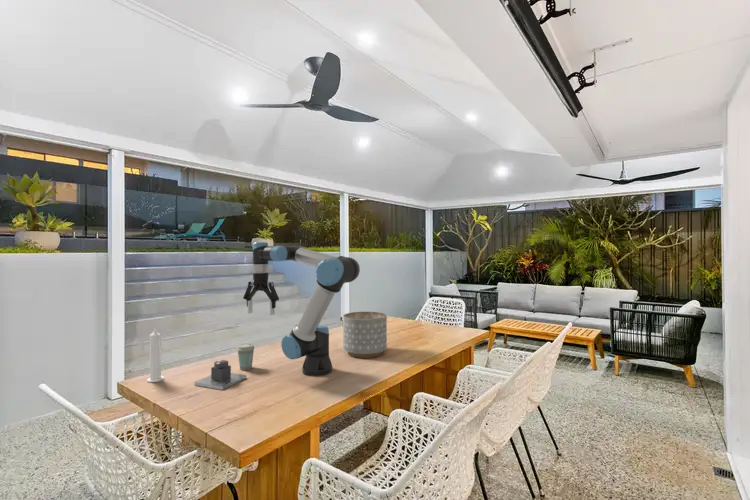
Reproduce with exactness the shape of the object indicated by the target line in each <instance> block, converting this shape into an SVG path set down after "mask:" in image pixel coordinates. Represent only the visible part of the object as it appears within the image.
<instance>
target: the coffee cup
mask: <svg viewBox="0 0 750 500" xmlns="http://www.w3.org/2000/svg"><path fill="white" fill-rule="evenodd" d="M236 350H237V356H238V362H239V369H240V370H241V371H248V370H251V369H252V368H253V362H254V361H253V359H254V352H255V346H254V344H252V343H242V344H239V345H237V348H236Z"/></svg>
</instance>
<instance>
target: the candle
mask: <svg viewBox="0 0 750 500" xmlns="http://www.w3.org/2000/svg"><path fill="white" fill-rule="evenodd" d="M161 340H162V339H161V333H159V332H158V331H157V328H156V327H154V328H153V331H152V332H151V333H150V334H149V377H148V378H147V379H146V382H147V383H159V382H162V381H163V380H165V376H163V375H162V358H161V357H162V354H161V353H162V352H161V349H162V348H161Z"/></svg>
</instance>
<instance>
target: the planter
mask: <svg viewBox="0 0 750 500" xmlns="http://www.w3.org/2000/svg"><path fill="white" fill-rule="evenodd" d="M342 318H343V320H342V321H343V322H342V323H343V326H342V328H343V329H342V330H343V331H342V332H343V334H342V335H343V337H342V338H343V347H342V348H343V350H344V351H345V352H346V353H347V354H348V355H349V356H350V357H354V358H359V359H363V358H364V359H367V358H368V359H369V358H375V357H379V356H381V355H383V352H384V351H386V350H387V337H388V336H387V323H388V322H387V314H386V313H383V312H377V311H354V312H352V311H351V312H348V313H345V314H343V316H342Z"/></svg>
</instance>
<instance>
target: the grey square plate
mask: <svg viewBox="0 0 750 500" xmlns="http://www.w3.org/2000/svg"><path fill="white" fill-rule="evenodd" d="M245 379H247V375H246V374H242V373H234V372H231V377H230V378H228V379H226V380H223V381H217V380H212V379H211V374H210V375H208V376H206V377H202V378H201V379H198V380H196V381H194V383H193V385H194V386H196V387H202V388H208V389H215V390H221V391H224V390H225V389H227V388H230V387H231V386H234V385H235V384H237V383H240V382H241V381H244V380H245Z"/></svg>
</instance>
